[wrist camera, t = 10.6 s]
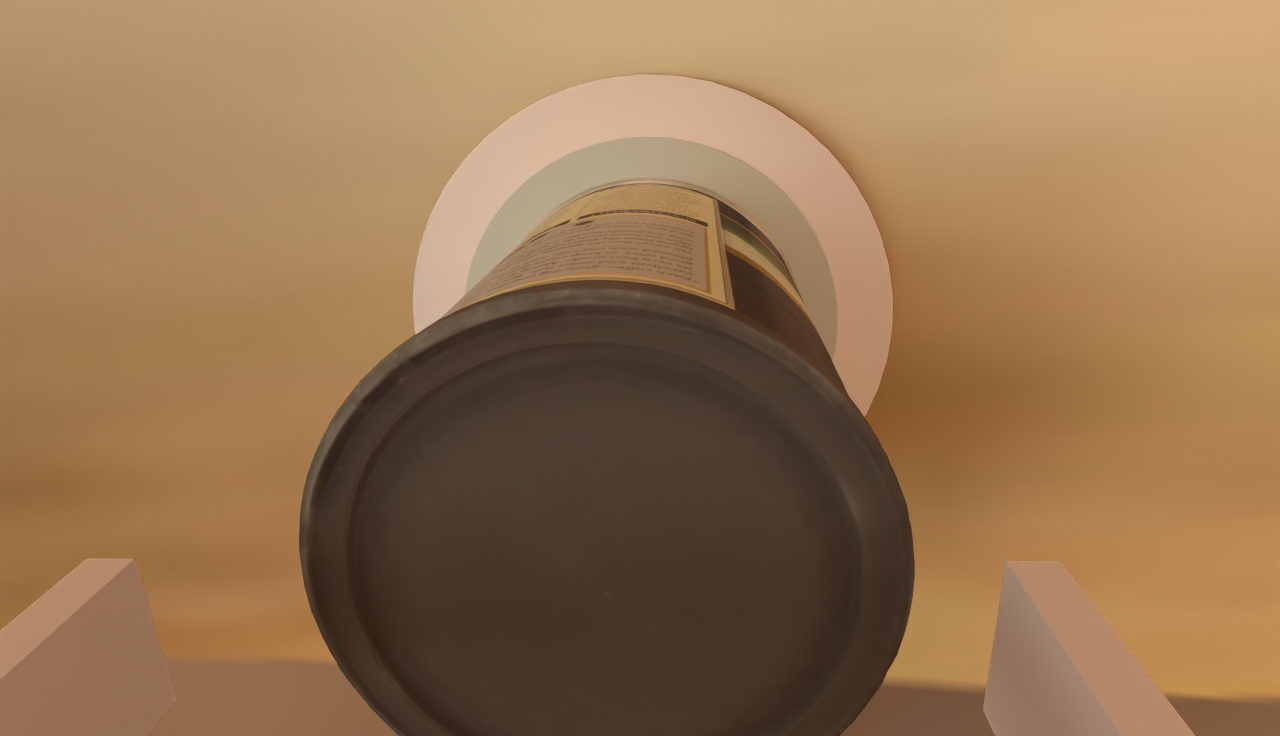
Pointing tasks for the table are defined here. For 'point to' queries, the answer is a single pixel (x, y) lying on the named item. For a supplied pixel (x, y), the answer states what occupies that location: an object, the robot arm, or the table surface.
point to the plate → (682, 151)
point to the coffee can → (612, 495)
